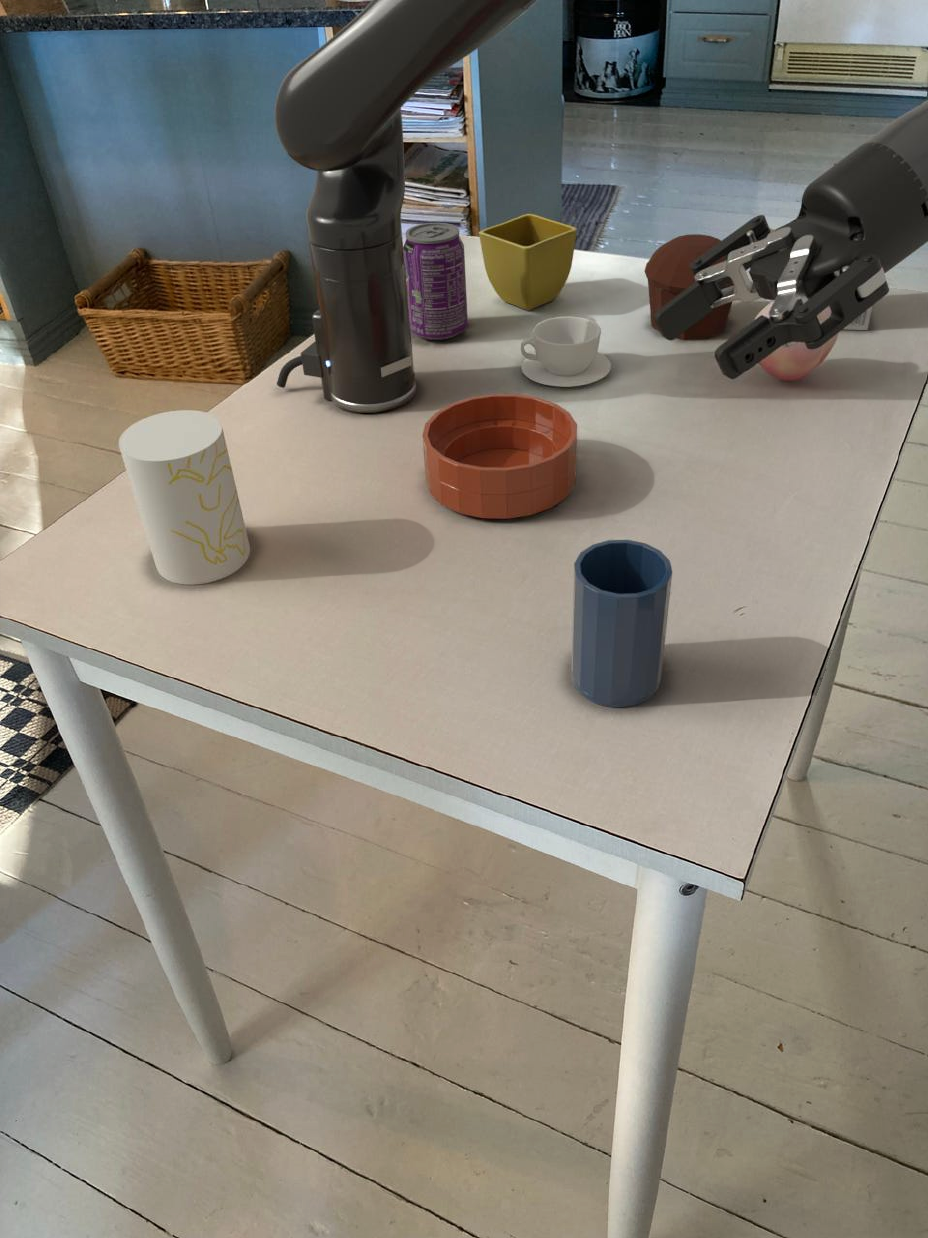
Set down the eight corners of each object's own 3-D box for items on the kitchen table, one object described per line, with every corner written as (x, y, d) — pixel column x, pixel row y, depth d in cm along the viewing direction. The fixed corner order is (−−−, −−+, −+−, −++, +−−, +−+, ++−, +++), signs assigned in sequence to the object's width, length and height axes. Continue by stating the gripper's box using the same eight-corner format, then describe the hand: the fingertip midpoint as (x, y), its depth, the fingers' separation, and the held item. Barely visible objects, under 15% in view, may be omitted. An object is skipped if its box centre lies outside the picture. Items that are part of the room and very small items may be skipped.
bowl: (402, 506, 92) (396, 454, 88) (463, 434, 101) (460, 384, 98) (545, 536, 87) (545, 482, 83) (595, 457, 96) (597, 406, 93)
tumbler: (559, 694, 72) (561, 584, 65) (587, 639, 76) (592, 532, 70) (646, 717, 69) (656, 606, 63) (670, 659, 74) (682, 550, 67)
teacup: (604, 348, 115) (605, 308, 112) (616, 387, 107) (619, 346, 104) (517, 353, 115) (517, 314, 112) (524, 393, 107) (524, 352, 104)
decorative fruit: (770, 354, 112) (784, 266, 105) (839, 373, 107) (858, 282, 101) (727, 386, 106) (739, 294, 100) (798, 407, 102) (815, 313, 96)
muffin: (621, 322, 120) (625, 238, 114) (685, 297, 125) (693, 216, 119) (693, 354, 113) (702, 266, 106) (759, 326, 118) (772, 241, 111)
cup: (205, 595, 83) (170, 470, 75) (136, 567, 86) (96, 445, 78) (269, 544, 88) (243, 423, 80) (201, 520, 91) (170, 402, 84)
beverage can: (433, 315, 125) (426, 217, 117) (479, 327, 121) (475, 226, 114) (398, 336, 120) (388, 235, 113) (444, 348, 117) (438, 246, 109)
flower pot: (527, 321, 122) (526, 247, 116) (479, 302, 127) (476, 230, 122) (577, 299, 126) (578, 227, 120) (529, 282, 131) (528, 212, 126)
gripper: (813, 126, 67) (619, 275, 69) (959, 154, 56) (722, 331, 57) (846, 221, 72) (663, 359, 73) (988, 265, 60) (767, 427, 62)
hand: (689, 347), depth 65 cm, fingers open, 8 cm apart
